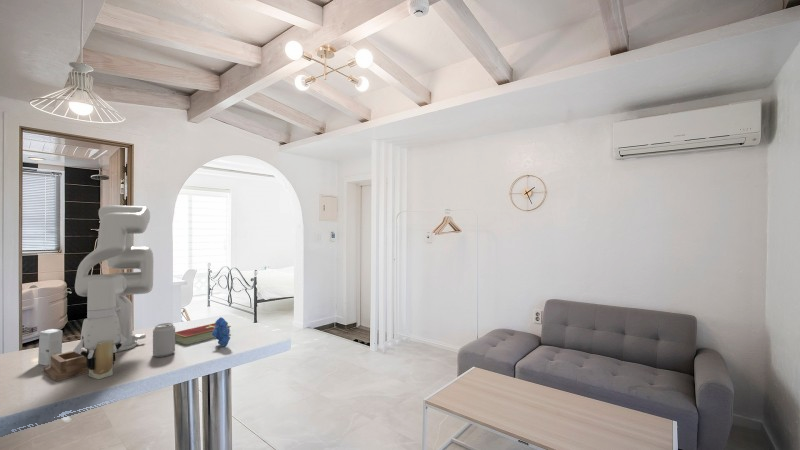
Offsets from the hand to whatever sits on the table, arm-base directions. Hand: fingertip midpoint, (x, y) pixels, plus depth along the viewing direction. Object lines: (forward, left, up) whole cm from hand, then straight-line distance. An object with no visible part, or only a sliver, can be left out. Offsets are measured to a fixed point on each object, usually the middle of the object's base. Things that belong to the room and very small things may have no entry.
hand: (101, 365), depth 125 cm
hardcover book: (-43, -16, -4) cm, 46 cm away
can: (-22, -5, -4) cm, 23 cm away
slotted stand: (+4, -14, -3) cm, 15 cm away
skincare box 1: (+6, -30, -4) cm, 31 cm away
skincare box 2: (0, 0, -4) cm, 4 cm away
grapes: (-40, +4, -4) cm, 40 cm away
